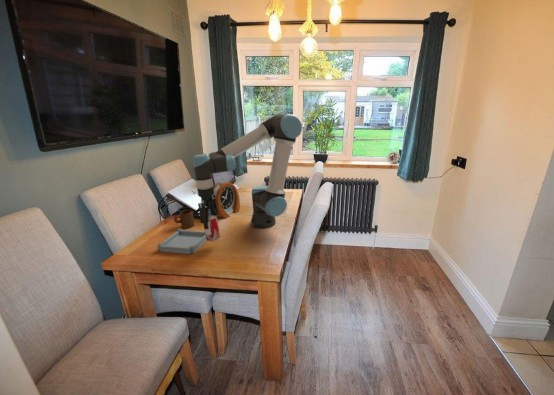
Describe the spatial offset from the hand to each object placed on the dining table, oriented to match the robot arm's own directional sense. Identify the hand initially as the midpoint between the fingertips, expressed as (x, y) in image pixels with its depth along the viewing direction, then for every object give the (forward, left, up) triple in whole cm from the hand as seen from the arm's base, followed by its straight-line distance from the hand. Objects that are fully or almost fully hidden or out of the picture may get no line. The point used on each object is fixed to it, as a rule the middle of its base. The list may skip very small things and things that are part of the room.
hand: (211, 230), depth 132 cm
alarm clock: (+12, -45, -9) cm, 47 cm away
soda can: (0, 0, -5) cm, 5 cm away
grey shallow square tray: (+17, -1, -9) cm, 19 cm away
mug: (+29, -20, -9) cm, 36 cm away
